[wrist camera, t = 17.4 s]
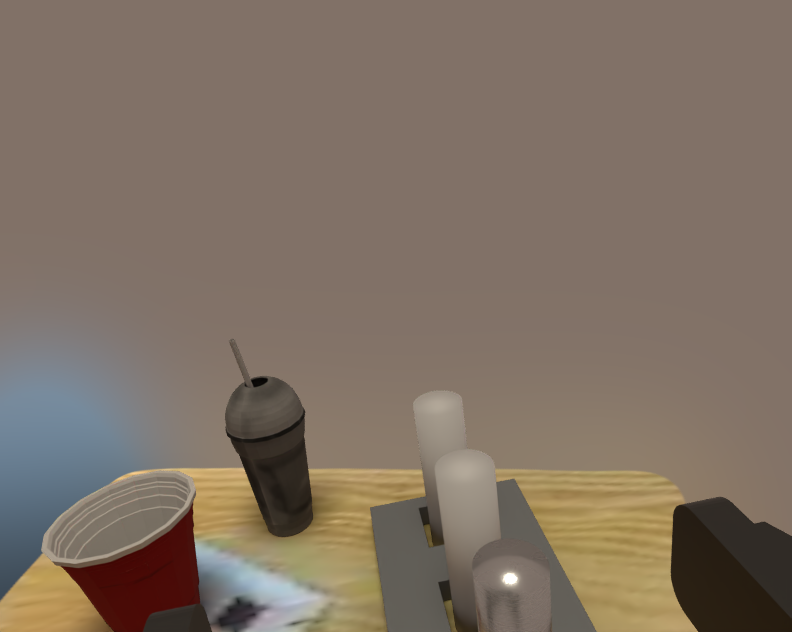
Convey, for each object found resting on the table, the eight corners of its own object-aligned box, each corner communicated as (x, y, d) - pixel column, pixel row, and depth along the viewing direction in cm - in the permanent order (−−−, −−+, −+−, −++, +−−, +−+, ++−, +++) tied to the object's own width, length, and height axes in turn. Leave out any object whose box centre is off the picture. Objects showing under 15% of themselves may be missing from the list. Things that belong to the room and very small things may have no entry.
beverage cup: (339, 522, 57) (299, 333, 50) (268, 559, 53) (215, 362, 46) (309, 487, 63) (269, 313, 56) (243, 517, 59) (192, 337, 52)
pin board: (420, 847, 32) (383, 661, 27) (373, 524, 56) (349, 395, 51) (666, 786, 33) (675, 597, 28) (515, 495, 57) (505, 366, 52)
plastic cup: (203, 555, 55) (169, 447, 51) (253, 626, 47) (216, 503, 42) (79, 626, 49) (28, 510, 45) (110, 720, 41) (52, 589, 37)
